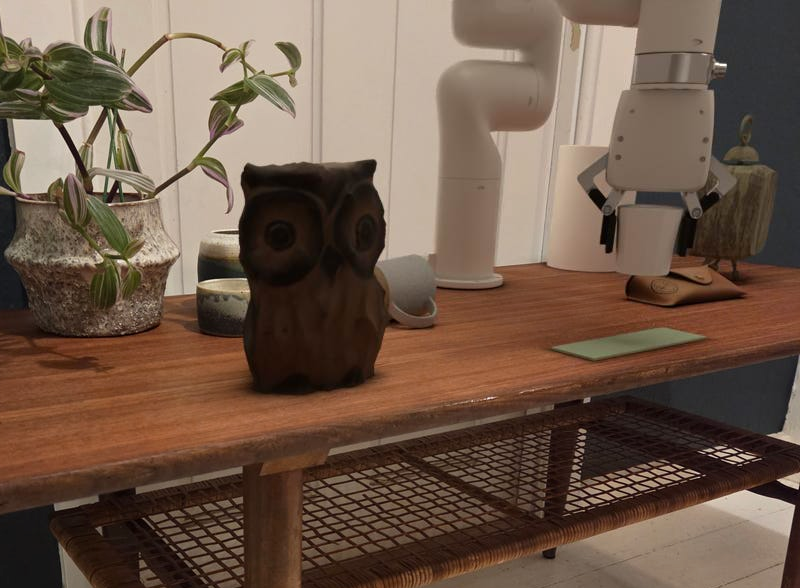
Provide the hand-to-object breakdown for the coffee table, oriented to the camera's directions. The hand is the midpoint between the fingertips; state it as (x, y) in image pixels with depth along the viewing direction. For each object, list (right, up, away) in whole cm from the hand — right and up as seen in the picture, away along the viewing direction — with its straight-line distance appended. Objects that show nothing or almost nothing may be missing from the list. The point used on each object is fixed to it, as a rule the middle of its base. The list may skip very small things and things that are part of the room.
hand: (644, 252), depth 97 cm
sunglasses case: (+18, +1, +32) cm, 36 cm away
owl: (-37, -15, -11) cm, 41 cm away
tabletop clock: (+31, +8, +49) cm, 58 cm away
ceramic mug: (-25, -5, +14) cm, 30 cm away
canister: (+12, +13, +60) cm, 63 cm away
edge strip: (0, -10, +4) cm, 10 cm away
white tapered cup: (0, -2, +1) cm, 2 cm away
